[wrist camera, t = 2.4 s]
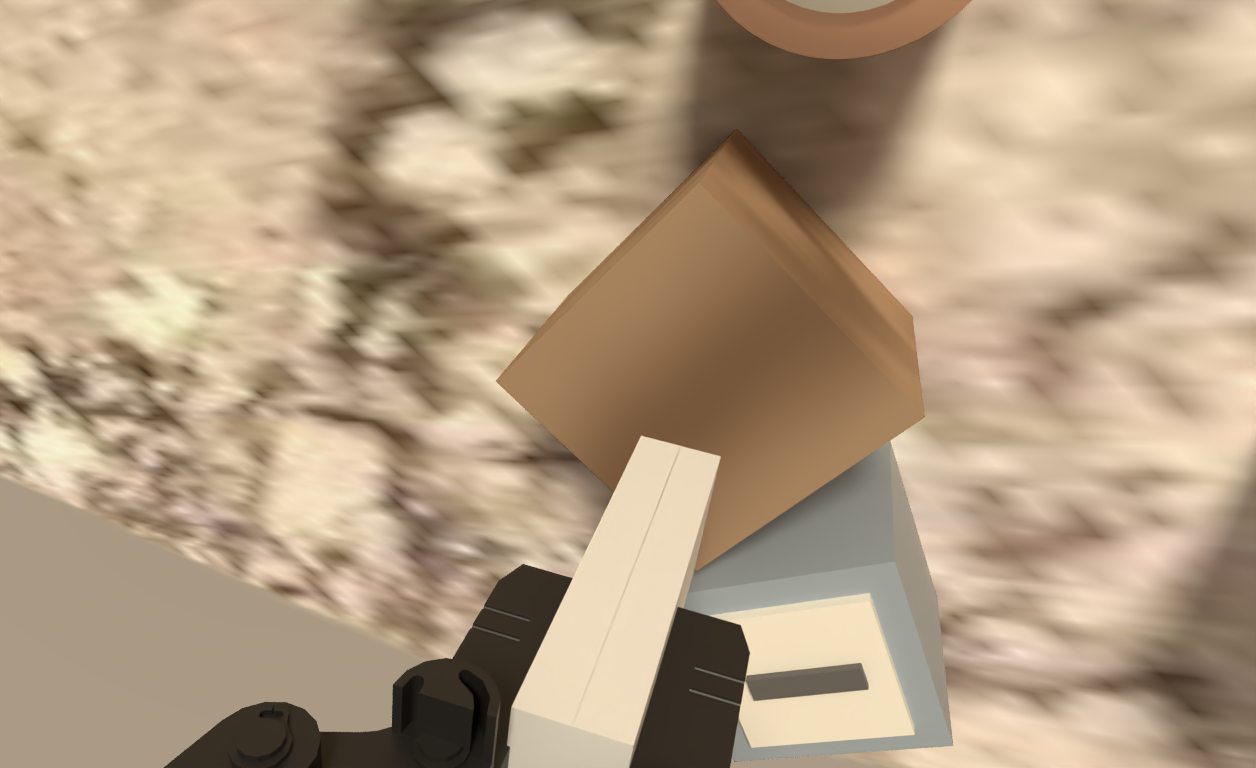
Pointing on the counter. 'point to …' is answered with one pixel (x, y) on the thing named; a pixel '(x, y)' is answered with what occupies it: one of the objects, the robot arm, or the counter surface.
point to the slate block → (834, 623)
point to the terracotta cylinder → (841, 23)
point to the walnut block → (727, 348)
